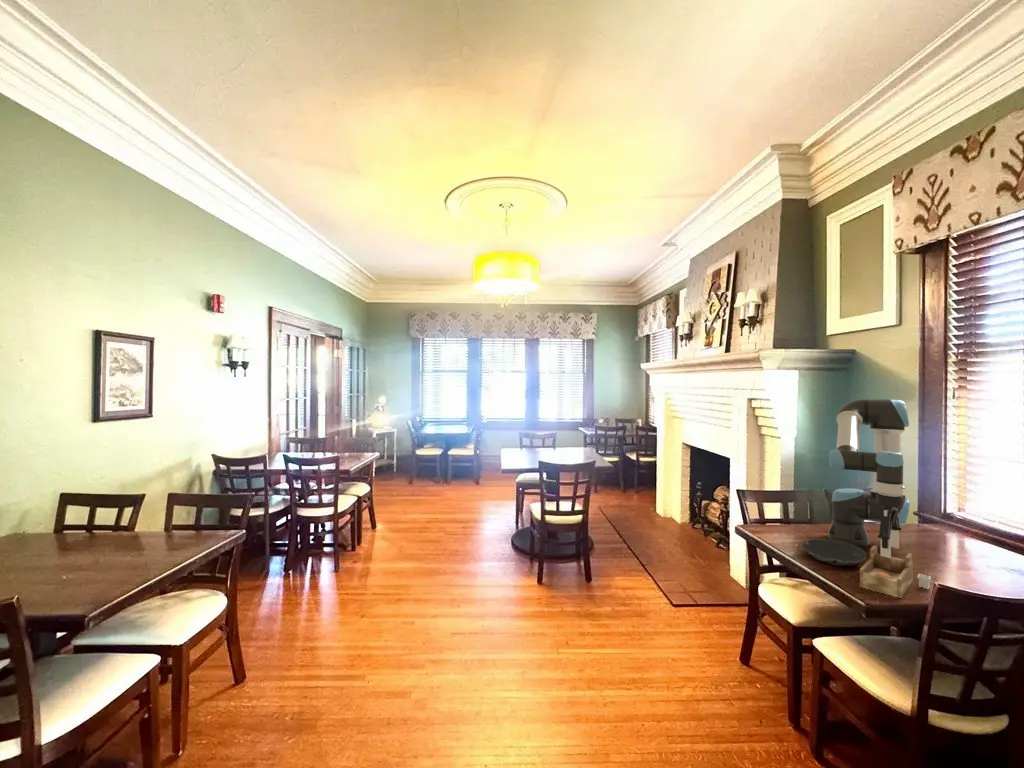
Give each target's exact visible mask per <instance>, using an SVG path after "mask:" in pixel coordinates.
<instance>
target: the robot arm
mask: <svg viewBox="0 0 1024 768" xmlns="http://www.w3.org/2000/svg"><path fill="white" fill-rule="evenodd" d="M835 422H836V424H837V425H838V426H837V435H836V436H837V438H836V449H831V450H829V455H828V456H829V457H828V458H829V461H828V462H829V466H830V468H832V469H837V470H838V469H840V470H846V471H847V470H849V471H859V472H868V473H869V472H871V473H874V487H873V488H871V489H870V493H866V492H865V490H864V489H861V488H845V487H844V488H838V489H837V488H836V489H834V491H832V498H831V502H832V509H831V510H832V514H831V515H832V517H831V518H832V521H831V523H830V526H829V528H828V530H827V539H828V540H838V541H841V542H847V543H849V544H852V545H855V546H857V547H866V546H869V545H870V537H869V535H868V531H867V529H866V527H865V521H870V522H876V523H880V524H879V533H878V534H877V538H879V540H880V546H879V547H880V553H879V554H880V555H881V556H883V557H887V558H891V557H892V551H891V550H892V548H894V549H899V548H900V545H899V541H900V539H899V537H900V536H899V535H900V534H899V533H900V532H901V531H902V528H901V526H904V525H906V524H907V522H908V518H909V512H910V504H911V500H910V499H909V498H908V497H906V494H905V493H904V490H906V487H905V486H904V464H905V463H904V456H903V453H901V435H902V434H903V433H904V432H905V429H906V428H908V427H909V426H910V423H909V414H908V410H907V406H906V403H905V401H903V400H899V399H864V398H863V399H860V398H859V399H855V400H852V401H849V402H847V403H846V404H844V405H843V406H841V408H840V409H839V410H838V411H837V413H836V417H835ZM862 425H863V426H870V427H869V430H871V432H873V433H874V452H870V451H860V433H861V432H860V431H861V430H860V428H861V426H862Z"/></svg>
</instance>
